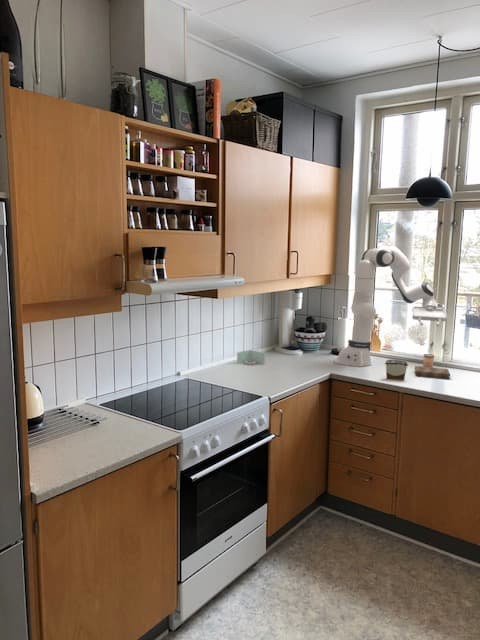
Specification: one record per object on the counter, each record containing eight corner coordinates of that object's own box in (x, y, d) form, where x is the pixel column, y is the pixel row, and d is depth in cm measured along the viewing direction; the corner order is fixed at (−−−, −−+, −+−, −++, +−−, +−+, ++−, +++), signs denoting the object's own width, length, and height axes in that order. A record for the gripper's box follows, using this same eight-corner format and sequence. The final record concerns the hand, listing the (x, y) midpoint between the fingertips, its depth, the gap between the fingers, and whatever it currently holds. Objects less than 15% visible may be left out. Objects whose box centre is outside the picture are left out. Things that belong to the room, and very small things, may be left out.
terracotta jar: (423, 370, 304) (424, 355, 303) (422, 368, 310) (423, 353, 309) (433, 371, 303) (434, 356, 302) (432, 369, 308) (433, 354, 307)
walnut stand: (415, 376, 289) (416, 371, 289) (414, 370, 302) (414, 366, 301) (449, 379, 285) (450, 374, 284) (447, 373, 297) (447, 368, 297)
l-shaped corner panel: (236, 364, 305) (237, 352, 304) (249, 361, 314) (250, 349, 313) (252, 368, 297) (252, 355, 296) (265, 365, 306) (265, 352, 305)
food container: (404, 377, 285) (405, 360, 284) (406, 380, 279) (408, 362, 278) (381, 376, 286) (383, 358, 285) (383, 379, 280) (385, 361, 279)
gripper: (412, 303, 323) (412, 320, 315) (447, 305, 318) (447, 323, 310) (411, 309, 328) (411, 326, 320) (445, 311, 323) (446, 329, 315)
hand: (429, 325), depth 315 cm, fingers open, 8 cm apart
